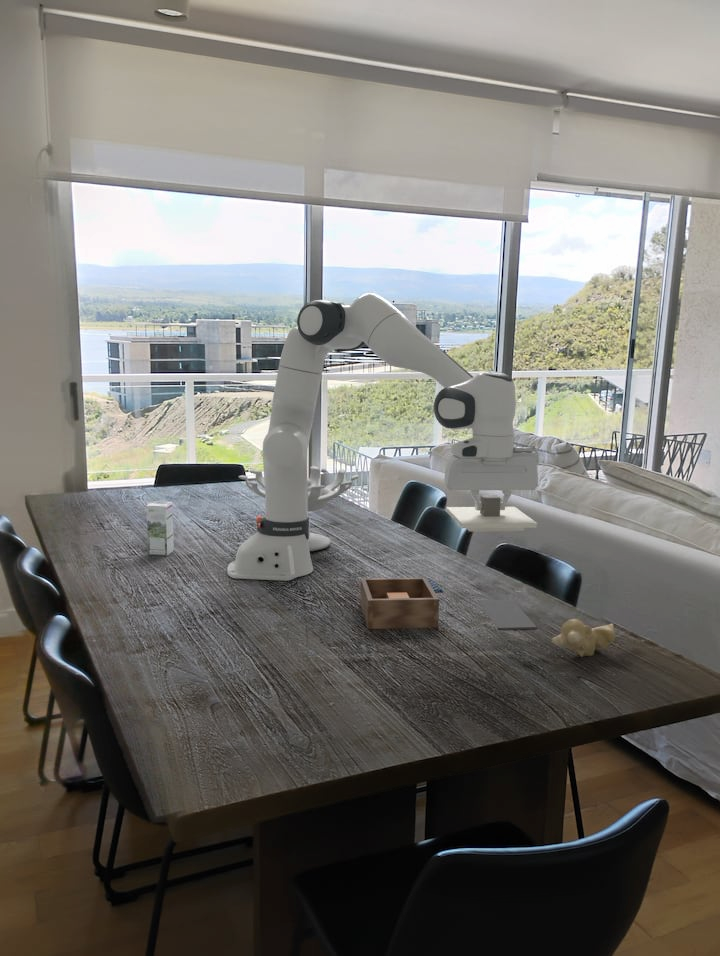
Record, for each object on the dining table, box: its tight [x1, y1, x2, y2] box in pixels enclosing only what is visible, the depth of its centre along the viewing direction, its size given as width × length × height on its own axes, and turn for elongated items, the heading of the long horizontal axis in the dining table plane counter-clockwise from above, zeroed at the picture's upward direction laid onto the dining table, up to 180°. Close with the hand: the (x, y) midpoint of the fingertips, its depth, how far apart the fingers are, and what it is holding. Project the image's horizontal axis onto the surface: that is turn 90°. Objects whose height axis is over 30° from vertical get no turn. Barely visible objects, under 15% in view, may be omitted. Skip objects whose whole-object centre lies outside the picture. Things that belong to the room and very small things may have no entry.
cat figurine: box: [551, 618, 616, 658], centre depth 153 cm, size 8×7×12 cm
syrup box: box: [146, 500, 175, 557], centre depth 218 cm, size 6×6×14 cm
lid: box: [445, 494, 538, 532], centre depth 170 cm, size 16×16×6 cm
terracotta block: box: [387, 592, 409, 599], centre depth 171 cm, size 4×4×4 cm
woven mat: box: [427, 577, 444, 593], centre depth 191 cm, size 10×11×2 cm
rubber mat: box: [476, 598, 538, 631], centre depth 175 cm, size 18×18×1 cm
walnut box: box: [359, 577, 440, 630], centre depth 170 cm, size 15×15×7 cm
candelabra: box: [238, 465, 360, 552], centre depth 228 cm, size 34×35×27 cm
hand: (489, 509), depth 170 cm, fingers closed on lid, 3 cm apart
